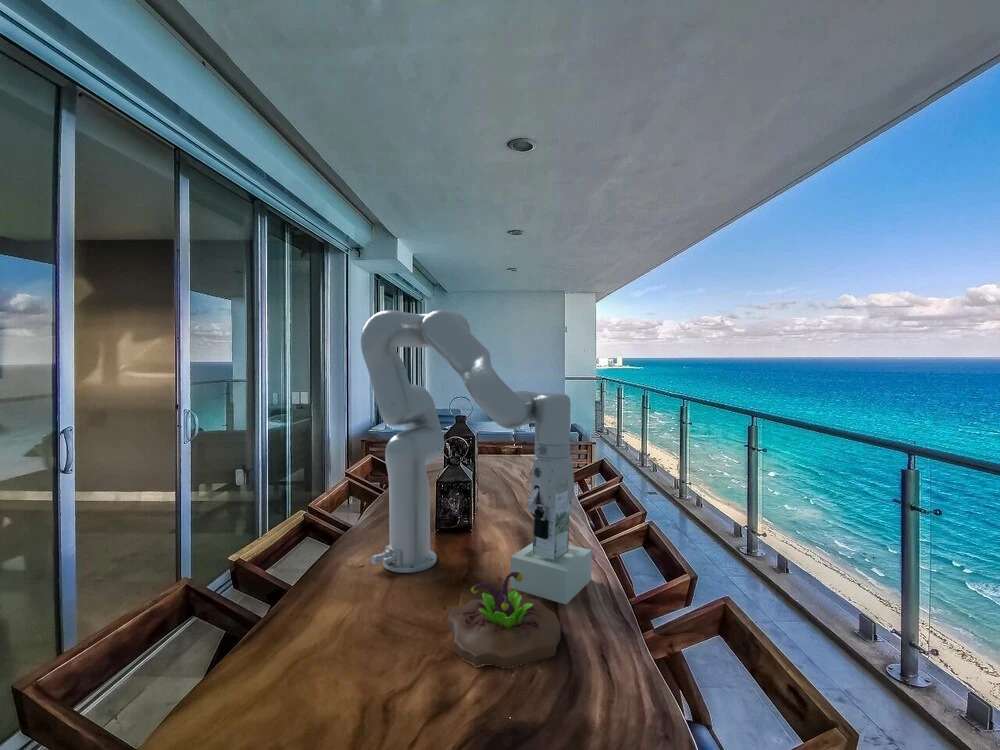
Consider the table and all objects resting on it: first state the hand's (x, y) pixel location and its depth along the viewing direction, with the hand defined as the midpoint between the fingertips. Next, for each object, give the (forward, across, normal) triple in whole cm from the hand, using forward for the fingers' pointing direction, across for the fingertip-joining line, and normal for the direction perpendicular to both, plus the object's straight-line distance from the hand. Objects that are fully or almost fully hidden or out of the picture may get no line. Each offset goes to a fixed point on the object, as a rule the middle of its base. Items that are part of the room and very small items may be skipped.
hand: (551, 532), depth 108 cm
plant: (+12, -21, -6) cm, 25 cm away
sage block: (+11, 0, 0) cm, 11 cm away
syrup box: (+5, 0, 0) cm, 5 cm away
